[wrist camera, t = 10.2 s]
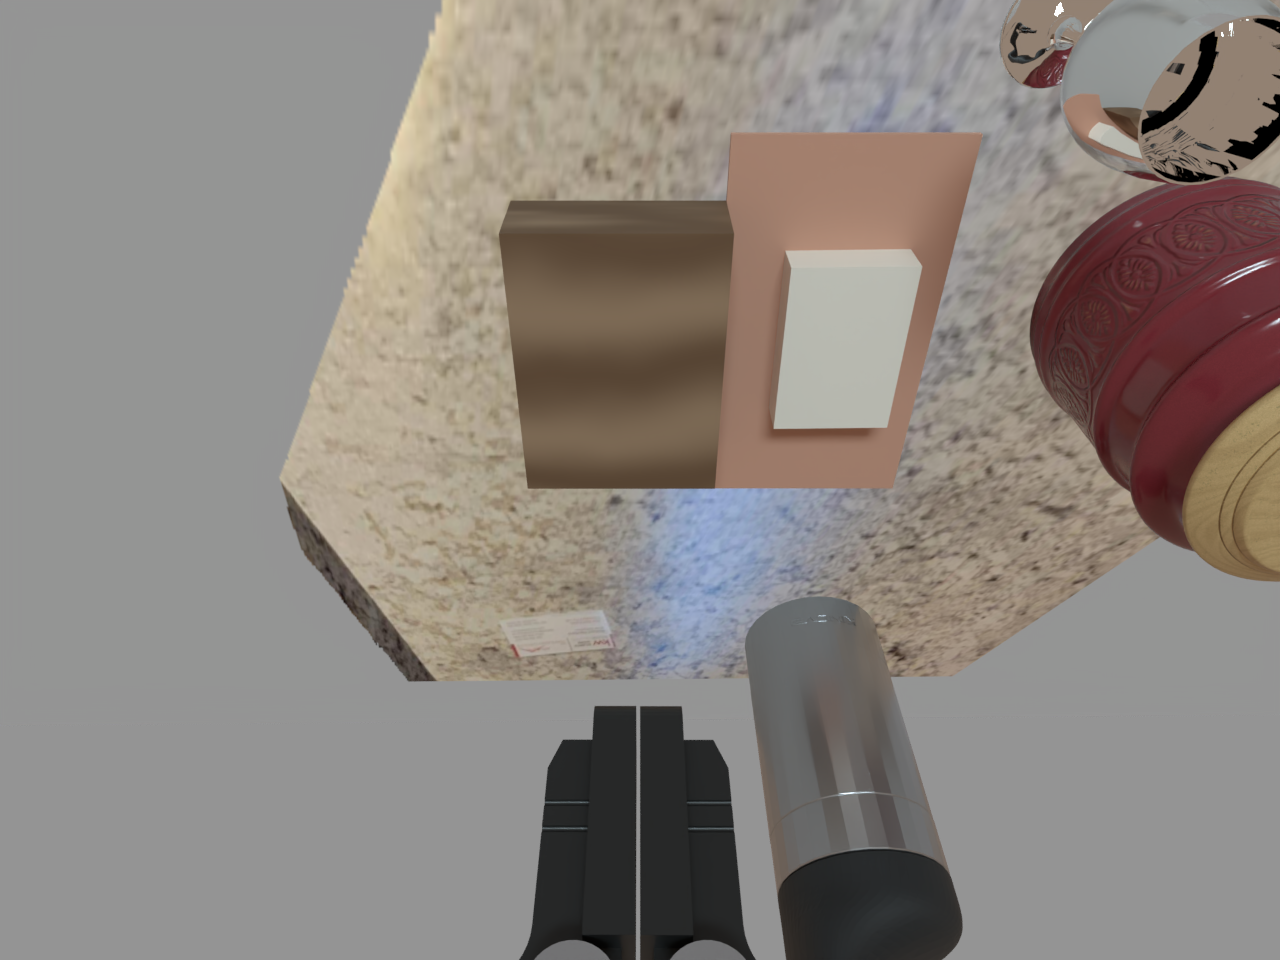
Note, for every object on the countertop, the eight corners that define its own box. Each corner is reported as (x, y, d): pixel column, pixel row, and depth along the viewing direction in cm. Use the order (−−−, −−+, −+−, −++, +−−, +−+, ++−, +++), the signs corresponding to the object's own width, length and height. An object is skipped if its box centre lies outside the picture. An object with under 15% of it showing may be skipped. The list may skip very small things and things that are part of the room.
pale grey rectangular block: (773, 428, 42) (768, 407, 44) (886, 427, 42) (878, 406, 44) (791, 267, 37) (785, 250, 38) (922, 266, 37) (910, 249, 38)
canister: (1357, 165, 36) (1800, 366, 22) (1228, 406, 44) (1494, 662, 30) (1068, 168, 36) (1332, 370, 22) (992, 408, 44) (1152, 664, 30)
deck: (709, 444, 46) (714, 488, 43) (535, 444, 46) (527, 488, 43) (726, 200, 37) (734, 233, 34) (510, 200, 37) (498, 233, 34)
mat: (891, 485, 48) (892, 488, 47) (707, 485, 48) (707, 488, 47) (980, 132, 35) (982, 134, 35) (730, 132, 35) (731, 134, 35)
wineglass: (1101, 104, 34) (1274, 202, 25) (967, 105, 34) (1090, 205, 25) (1153, -57, 31) (1378, -12, 21) (1003, -54, 31) (1162, -9, 22)
